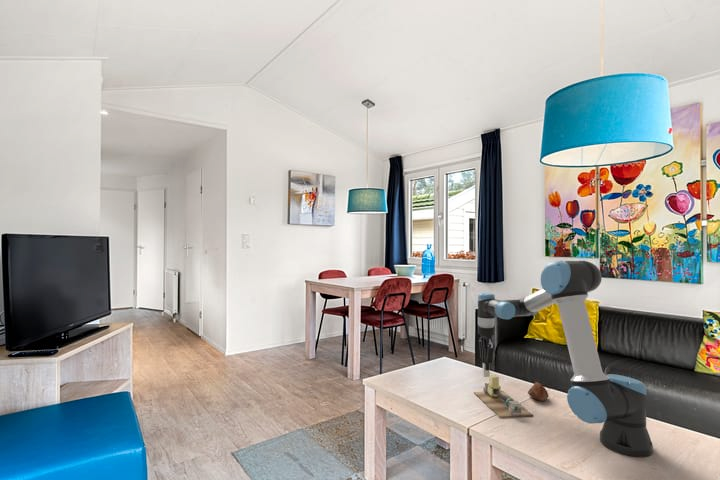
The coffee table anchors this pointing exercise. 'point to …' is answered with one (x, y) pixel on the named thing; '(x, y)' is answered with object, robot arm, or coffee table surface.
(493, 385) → the yellow sliding block
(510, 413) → the brown flat board
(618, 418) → the robot arm
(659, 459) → the coffee table surface
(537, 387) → the fossil
